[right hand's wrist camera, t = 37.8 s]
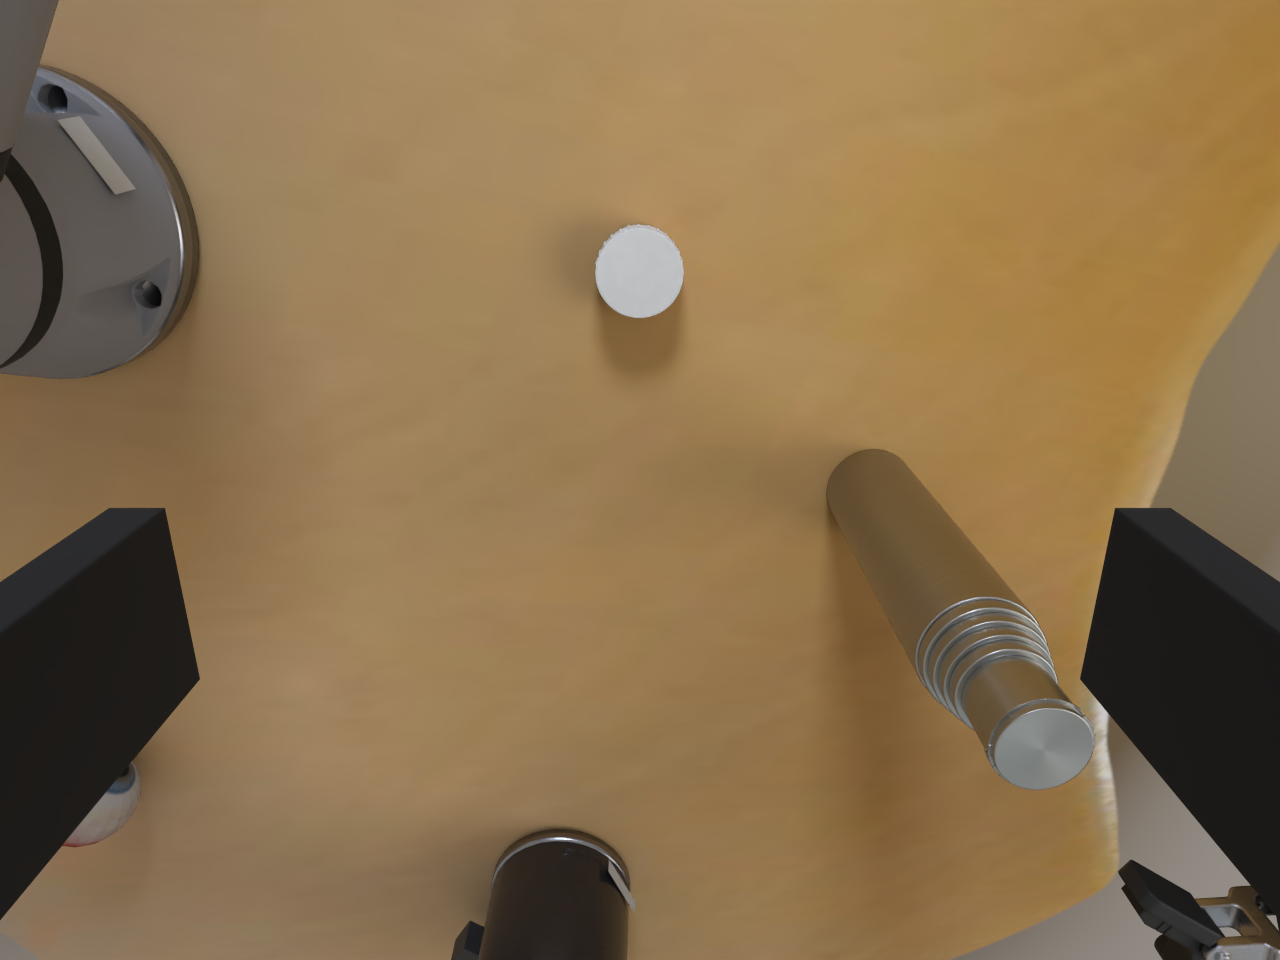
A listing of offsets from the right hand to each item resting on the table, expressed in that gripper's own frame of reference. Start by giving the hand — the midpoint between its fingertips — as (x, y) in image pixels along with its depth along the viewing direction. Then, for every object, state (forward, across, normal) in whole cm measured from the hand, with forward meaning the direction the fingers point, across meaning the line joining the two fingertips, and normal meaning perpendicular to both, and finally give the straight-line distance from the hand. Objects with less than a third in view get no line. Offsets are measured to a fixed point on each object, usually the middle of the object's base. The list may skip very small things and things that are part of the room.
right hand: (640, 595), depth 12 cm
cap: (+34, 0, 0) cm, 34 cm away
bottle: (+36, +13, -12) cm, 40 cm away
